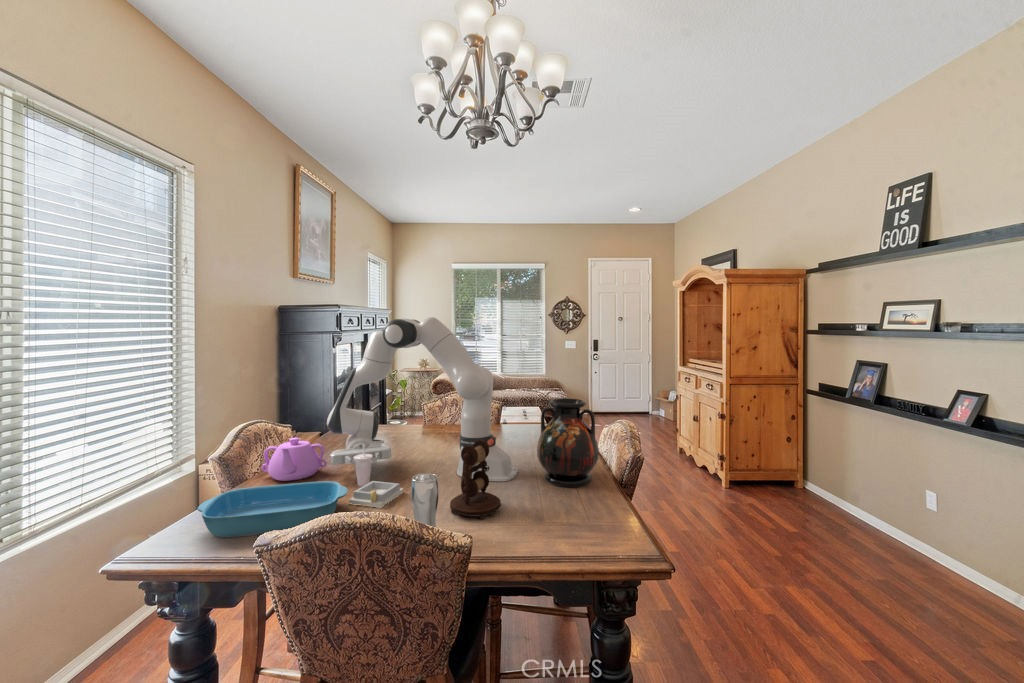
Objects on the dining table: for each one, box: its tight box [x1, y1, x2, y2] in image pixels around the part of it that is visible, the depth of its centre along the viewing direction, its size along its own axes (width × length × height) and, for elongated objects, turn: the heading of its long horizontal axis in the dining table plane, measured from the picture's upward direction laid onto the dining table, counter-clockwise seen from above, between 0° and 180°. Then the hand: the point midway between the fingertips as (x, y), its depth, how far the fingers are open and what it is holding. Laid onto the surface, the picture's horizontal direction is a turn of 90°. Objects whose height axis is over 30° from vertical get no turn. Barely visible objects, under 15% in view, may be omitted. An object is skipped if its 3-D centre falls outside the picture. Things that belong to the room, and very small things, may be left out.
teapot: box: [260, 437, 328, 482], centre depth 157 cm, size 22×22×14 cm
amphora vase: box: [536, 398, 600, 488], centre depth 153 cm, size 22×22×28 cm
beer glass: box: [410, 473, 440, 528], centre depth 113 cm, size 7×7×15 cm
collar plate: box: [348, 480, 404, 509], centre depth 137 cm, size 11×13×4 cm
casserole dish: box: [197, 480, 349, 538], centre depth 122 cm, size 37×22×7 cm, turn 108°
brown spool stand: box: [449, 440, 502, 521], centre depth 128 cm, size 15×15×20 cm
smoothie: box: [354, 444, 373, 487], centre depth 150 cm, size 6×6×14 cm
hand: (363, 460), depth 149 cm, fingers closed on smoothie, 6 cm apart
